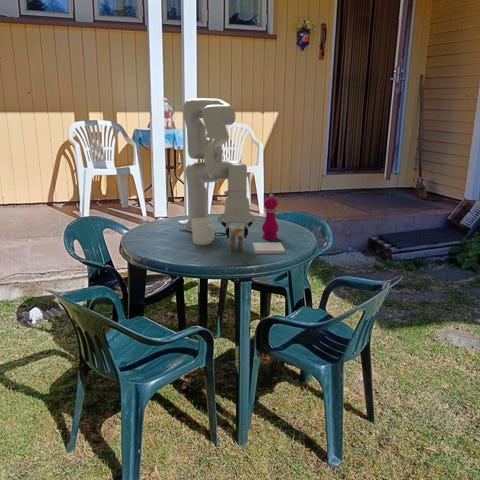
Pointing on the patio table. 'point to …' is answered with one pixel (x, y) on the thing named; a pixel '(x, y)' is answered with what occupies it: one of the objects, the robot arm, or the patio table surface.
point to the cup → (202, 231)
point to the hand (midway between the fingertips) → (236, 236)
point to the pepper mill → (270, 219)
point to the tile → (268, 248)
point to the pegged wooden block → (237, 232)
